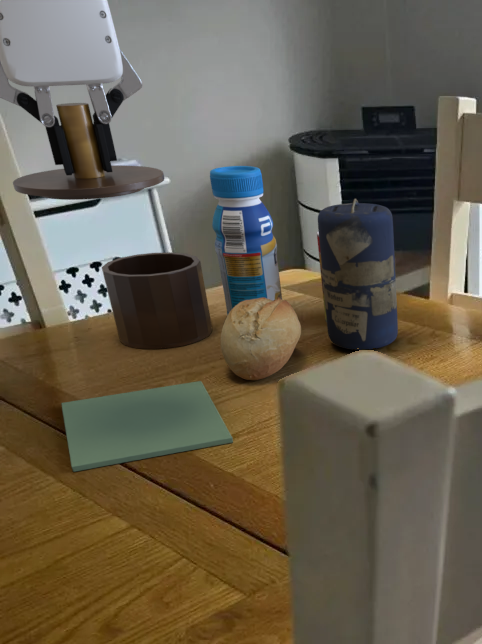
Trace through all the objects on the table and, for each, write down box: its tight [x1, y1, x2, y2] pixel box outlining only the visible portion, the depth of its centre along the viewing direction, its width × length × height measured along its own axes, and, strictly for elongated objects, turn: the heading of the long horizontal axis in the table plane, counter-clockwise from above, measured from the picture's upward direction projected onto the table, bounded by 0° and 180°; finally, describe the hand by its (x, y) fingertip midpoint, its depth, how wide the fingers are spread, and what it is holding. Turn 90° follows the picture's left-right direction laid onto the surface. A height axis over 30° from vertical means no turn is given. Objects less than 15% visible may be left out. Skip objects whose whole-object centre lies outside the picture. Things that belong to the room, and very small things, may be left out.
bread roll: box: [220, 297, 302, 381], centre depth 104 cm, size 10×15×8 cm, turn 0°
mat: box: [60, 380, 234, 473], centre depth 91 cm, size 16×18×1 cm
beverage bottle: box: [209, 165, 283, 317], centre depth 115 cm, size 8×8×20 cm
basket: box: [101, 251, 213, 350], centre depth 114 cm, size 13×13×10 cm
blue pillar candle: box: [317, 198, 399, 351], centre depth 107 cm, size 10×10×18 cm
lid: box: [12, 102, 165, 201], centre depth 78 cm, size 14×14×7 cm
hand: (88, 169), depth 79 cm, fingers closed on lid, 2 cm apart
